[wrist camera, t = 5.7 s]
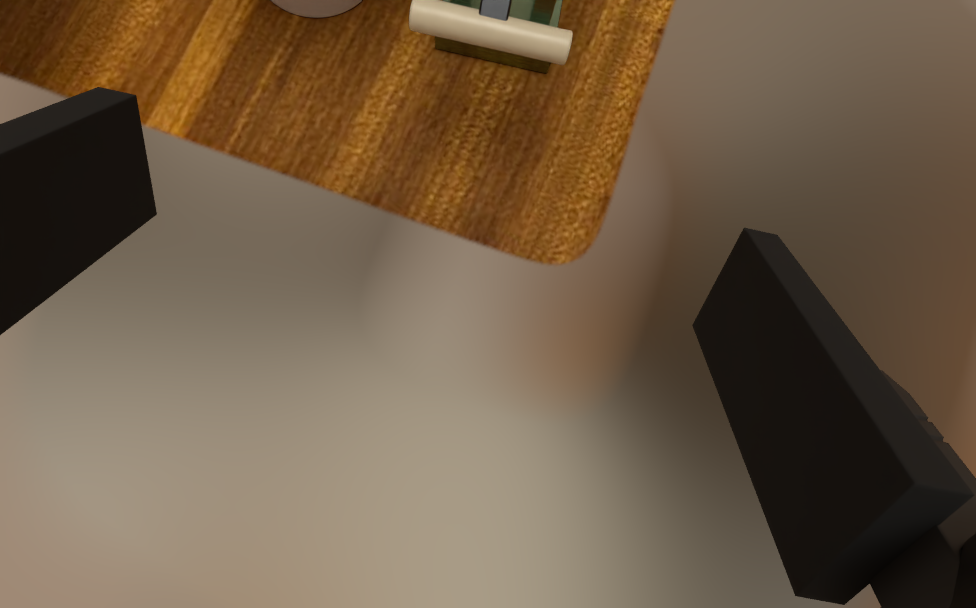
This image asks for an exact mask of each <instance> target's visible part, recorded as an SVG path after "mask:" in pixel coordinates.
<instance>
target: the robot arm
mask: <svg viewBox="0 0 976 608" xmlns="http://www.w3.org/2000/svg"><path fill="white" fill-rule="evenodd" d="M156 214H157V213H156V207H155V201H154V195H153V190H152V184H151V178H150V173H149V167H148V161H147V155H146V150H145V144H144V138H143V132H142V126H141V121H140V115H139V109H138V104H137V98H136V95H133V94H128V93H123V92H119V91H114V90H110V89H105V88H100V87H97V88H94V89H92V90H89V91H87V92H84V93H81V94H79V95H76V96H73V97H71V98H68V99H66V100H63V101H60V102H58V103H55V104H52V105H50V106H47V107H45V108H42V109H39V110H37V111H34V112H31V113H29V114H26V115H23V116H21V117H18V118H16V119H13V120H10V121H8V122H5V123H3V124H0V335H1V334H2V333H4V332H5V331H6V330H8V329H9V328H10V327H11V326H13V325H14V324H15V323H17V322H18V321H19V320H20V319H22V318H23V317H24V316H26V315H27V314H28V313H30V312H31V311H32V310H33V309H35V308H36V307H37V306H39V305H40V304H41V303H42V302H44V301H45V300H46V299H47V298H49V297H50V296H52V295H53V294H54V293H55V292H57V291H58V290H59V289H61V288H62V287H63V286H64V285H66V284H67V283H68V282H70V281H71V280H72V279H74V278H75V277H76V276H77V275H79V274H80V273H81V272H83V271H84V270H85V269H87V268H88V267H89V266H90V265H92V264H93V263H94V262H96V261H97V260H98V259H99V258H101V257H102V256H103V255H104V254H106V253H107V252H109V251H110V250H111V249H112V248H114V247H115V246H116V245H118V244H119V243H120V242H121V241H123V240H124V239H125V238H127V237H128V236H129V235H131V234H132V233H133V232H134V231H136V230H137V229H138V228H140V227H141V226H142V225H143V224H145V223H146V222H147V221H149V220H150V219H151V218H153V217H154V216H155V215H156ZM693 328H694V331H695V333H696V335H697V338H698V341H699V344H700V346H701V349H702V352H703V354H704V357H705V360H706V362H707V365H708V367H709V370H710V373H711V375H712V378H713V381H714V383H715V386H716V388H717V391H718V394H719V396H720V399H721V401H722V404H723V407H724V409H725V412H726V415H727V417H728V419H729V423H730V425H731V428H732V431H733V433H734V435H735V438H736V441H737V444H738V446H739V449H740V451H741V454H742V457H743V459H744V462H745V465H746V467H747V470H748V473H749V475H750V478H751V480H752V483H753V486H754V488H755V491H756V494H757V496H758V499H759V502H760V504H761V507H762V509H763V512H764V515H765V517H766V520H767V523H768V525H769V528H770V530H771V533H772V536H773V538H774V541H775V543H776V546H777V549H778V551H779V554H780V557H781V559H782V562H783V565H784V567H785V570H786V572H787V575H788V578H789V580H790V583H791V586H792V588H793V591H794V594H795V596H799V597H804V598H810V599H816V600H820V601H826V602H832V603H837V604H842V605H845V604H846V603H847V602H848V601H849V600H850V599H852V598H853V597H854V596H855V595H856V594H858V593H859V592H860V591H861V590H862V589H864V588H865V587H866V586H867V585H868V584H870V585H871V587H872V589H873V591H874V593H875V595H876V597H877V599H878V601H879V603H880V605H881V608H976V478H975V477H974V476H973V474H972V473H971V472H970V470H969V469H968V468H967V467H966V465H965V464H964V463H963V461H962V460H961V459H960V458H959V456H958V455H957V454H956V453H955V451H954V450H953V449H952V448H951V446H950V445H949V444H948V443H946V442H943V438H944V437H943V436H942V435H941V434H940V432H939V431H938V430H937V429H936V427H935V426H934V424H933V423H932V422H928V421H927V419H928V417H927V416H926V414H925V413H924V412H923V411H922V409H921V408H920V407H919V405H918V404H917V403H916V402H915V400H914V399H913V398H912V397H911V395H910V394H909V393H908V392H907V391H906V390H904V389H903V388H902V387H901V386H900V385H899V384H897V383H896V382H895V381H894V380H893V379H891V378H890V377H889V376H888V375H887V374H885V373H884V372H883V371H881V370H879V368H878V367H877V366H876V364H875V363H874V362H873V360H872V359H871V358H870V356H869V355H868V354H867V352H866V351H865V350H864V349H863V347H862V346H861V345H860V343H859V342H858V341H857V339H856V338H855V337H854V335H853V334H852V333H851V331H850V330H849V329H848V327H847V326H846V325H845V324H844V322H843V321H842V319H841V318H840V317H839V316H838V314H837V313H836V312H835V310H834V309H833V308H832V306H831V305H830V304H829V302H828V301H827V300H826V298H825V297H824V296H823V295H822V293H821V292H820V291H819V289H818V288H817V287H816V285H815V284H814V283H813V281H812V280H811V279H810V277H809V276H808V275H807V273H806V272H805V271H804V269H803V268H802V267H801V265H800V264H799V263H798V261H797V260H796V259H795V258H794V256H793V255H792V254H791V252H790V251H789V250H788V248H787V247H786V246H785V244H784V243H783V242H782V240H781V239H780V238H779V237H778V235H775V234H770V233H766V232H761V231H756V230H752V229H748V228H744V229H743V231H742V233H741V234H740V236H739V238H738V240H737V242H736V244H735V246H734V248H733V250H732V252H731V253H730V255H729V257H728V259H727V261H726V263H725V265H724V267H723V269H722V270H721V272H720V274H719V276H718V278H717V280H716V282H715V284H714V285H713V287H712V289H711V291H710V293H709V295H708V297H707V299H706V301H705V303H704V304H703V306H702V308H701V310H700V312H699V314H698V316H697V318H696V319H695V321H694V323H693Z"/></svg>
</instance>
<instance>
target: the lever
mask: <svg viewBox="0 0 976 608" xmlns="http://www.w3.org/2000/svg"><path fill="white" fill-rule="evenodd" d="M511 3H512V0H481V2H480V8H479V9H475V8H470V7H466V6H462V5H457V4H453V3H449V2H444V1H440V0H412V2H411V6H410V13H409V28H410V30H411V31H415V32H419V33H424V34H428V35H433V36H437V37H441V38H446V39H450V40H454V41H459V42H463V43H468V44H472V45H476V46H481V47H485V48H490V49H494V50H498V51H503V52H507V53H512V54H516V55H520V56H525V57H529V58H534V59H538V60H542V61H547V62H551V63H555V64H560V65H564V64H565V63H566V61H567V58H568V54H569V51H570V47H571V42H572V36H573V34H572V31H570V30H566V29H561V28H557V27H553V26H548V25H544V24H540V23H535V22H531V21H527V20H522V19H518V18H514V17H509V14H510V9H511Z"/></svg>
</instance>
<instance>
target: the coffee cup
mask: <svg viewBox="0 0 976 608" xmlns="http://www.w3.org/2000/svg"><path fill="white" fill-rule="evenodd" d="M271 1H272V2H273V3H274V4H276V5H277V6H279V7H280V8H282V9H284V10H286V11H288V12H290V13H293V14H296V15H300V16H305V17H314V18H320V17H329V16H334V15H338V14H341V13H343V12H346V11H348V10H350V9H351V8H353V7H355V6H356V5H357V4H359V3H360V2H361V1H362V0H271Z"/></svg>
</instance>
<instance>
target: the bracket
mask: <svg viewBox="0 0 976 608" xmlns="http://www.w3.org/2000/svg"><path fill="white" fill-rule="evenodd" d="M442 1H444V2H449V3H453V4H457V5H462V6H466V7H470V8H475V9H479V8H480V2H481V0H442ZM562 1H563V0H512V3H511V9H510V14H509V17H514V18H518V19H522V20H527V21H531V22H535V23H540V24H544V25H548V26H553V27H557V28H558V23H559V17H560V12H561V7H562ZM435 48H436V49H440V50H445V51H449V52H453V53H458V54H462V55H467V56H471V57H476V58H480V59H484V60H489V61H493V62H498V63H502V64H506V65H511V66H515V67H520V68H524V69H528V70H533V71H537V72H542V73H547V72H548V69H549V66H550V63H551V62H547V61H542V60H538V59H534V58H529V57H525V56H520V55H516V54H512V53H507V52H503V51H498V50H494V49H490V48H485V47H481V46H476V45H472V44H468V43H463V42H459V41H454V40H450V39H446V38H441V37H437V36H435Z"/></svg>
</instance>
